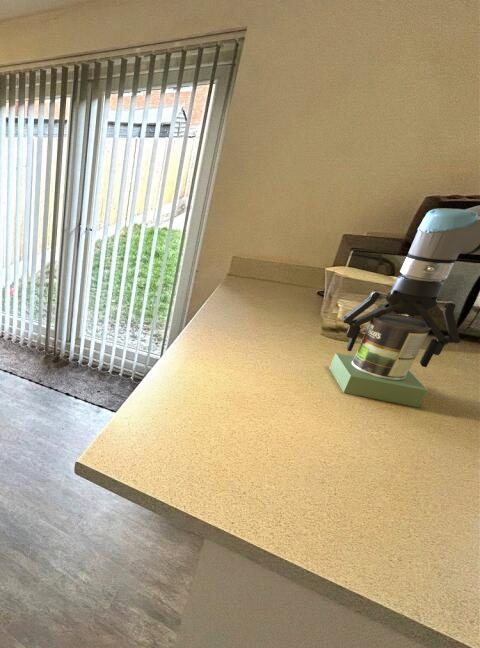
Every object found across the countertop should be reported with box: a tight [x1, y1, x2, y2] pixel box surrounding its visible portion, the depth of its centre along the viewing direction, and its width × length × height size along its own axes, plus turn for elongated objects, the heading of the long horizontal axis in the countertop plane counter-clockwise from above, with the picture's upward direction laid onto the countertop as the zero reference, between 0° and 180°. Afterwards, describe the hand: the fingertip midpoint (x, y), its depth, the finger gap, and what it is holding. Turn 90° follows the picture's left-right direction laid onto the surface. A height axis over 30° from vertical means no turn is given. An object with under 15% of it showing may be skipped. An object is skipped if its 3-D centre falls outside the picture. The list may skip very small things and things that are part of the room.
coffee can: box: [352, 312, 432, 380], centre depth 99 cm, size 10×10×14 cm
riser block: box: [328, 352, 428, 408], centre depth 103 cm, size 14×14×5 cm
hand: (384, 356), depth 100 cm, fingers open, 13 cm apart
